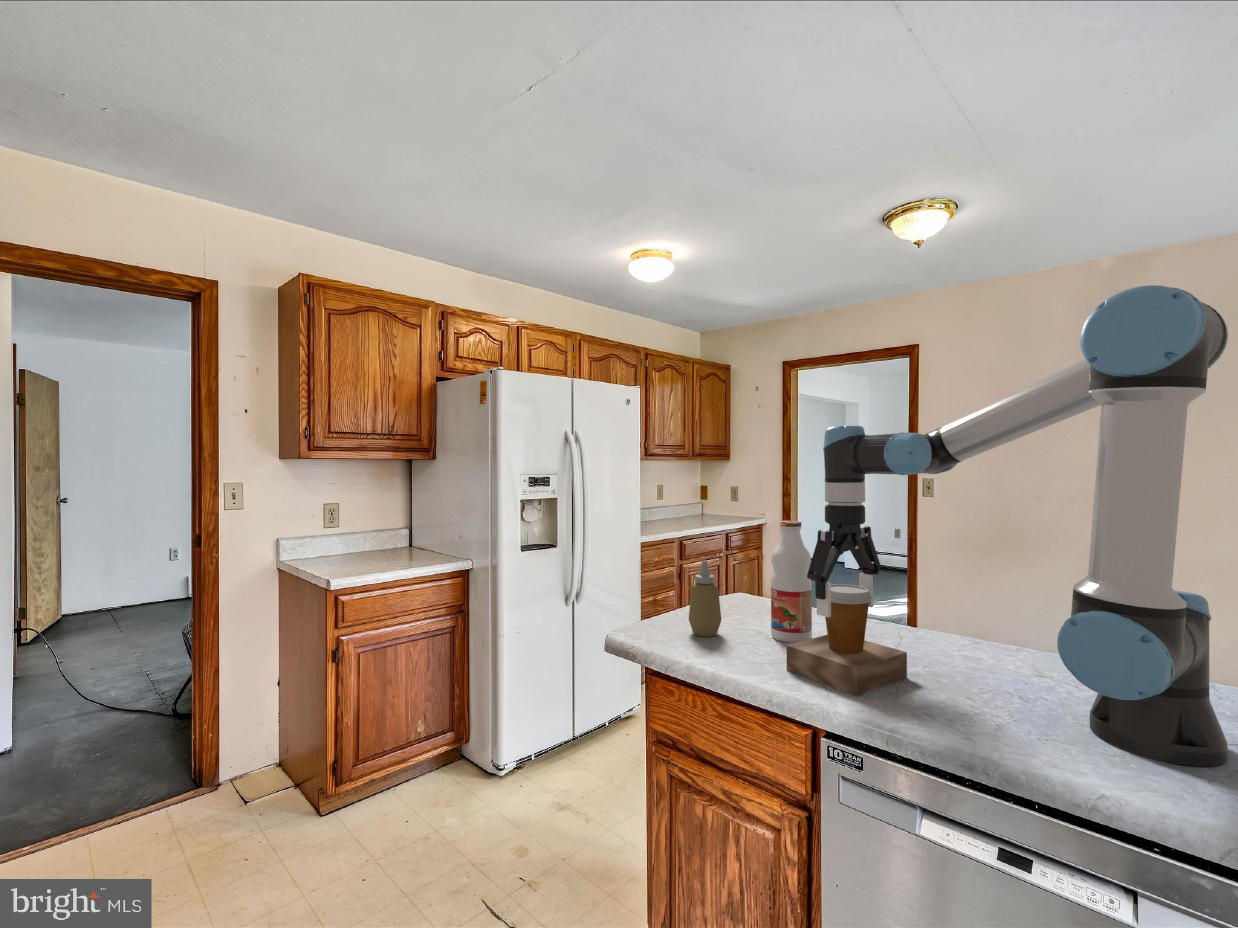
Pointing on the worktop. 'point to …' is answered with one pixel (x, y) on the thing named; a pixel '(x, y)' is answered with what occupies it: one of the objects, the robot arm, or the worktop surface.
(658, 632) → the worktop surface
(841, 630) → the disposable coffee cup
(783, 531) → the fruit juice
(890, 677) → the walnut base
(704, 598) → the squeeze bottle
